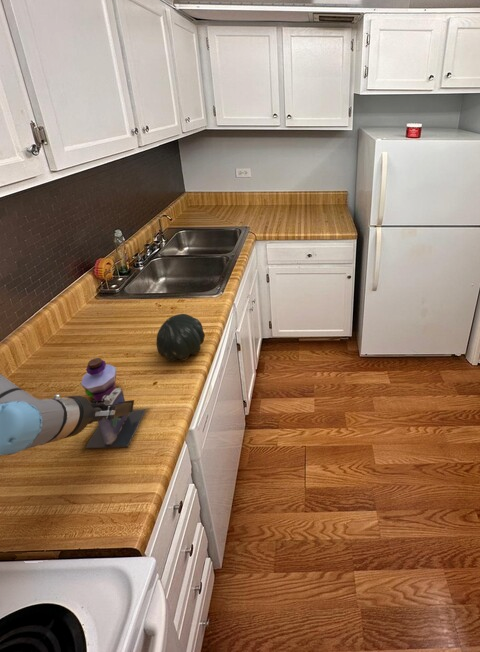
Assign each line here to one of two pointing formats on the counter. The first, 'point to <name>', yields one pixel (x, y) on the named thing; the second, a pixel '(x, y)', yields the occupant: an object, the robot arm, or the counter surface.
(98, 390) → the potion bottle
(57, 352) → the counter surface
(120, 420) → the flask
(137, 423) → the slate coaster
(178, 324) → the squash
